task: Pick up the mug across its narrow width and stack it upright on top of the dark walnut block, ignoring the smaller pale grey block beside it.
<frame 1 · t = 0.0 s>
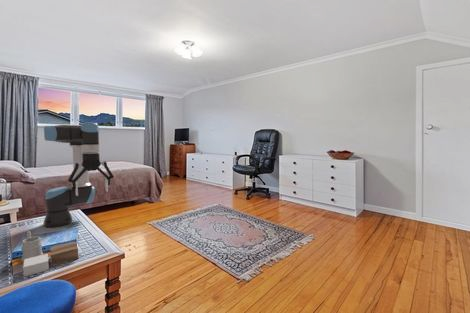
hand: (92, 193, 122), 28 cm above the table, fingers open, 13 cm apart
walnut block: (64, 257, 111), on the table
grey block: (36, 268, 101), on the table
mug: (31, 258, 110), on the table
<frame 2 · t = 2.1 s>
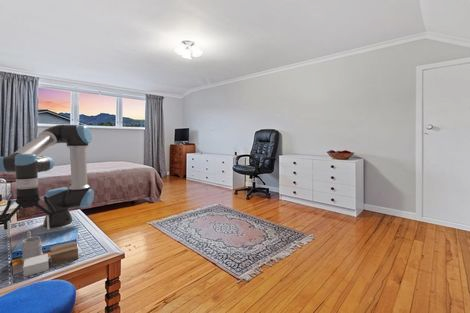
hand: (29, 232, 109), 13 cm above the table, fingers open, 13 cm apart
nothing on the table moved.
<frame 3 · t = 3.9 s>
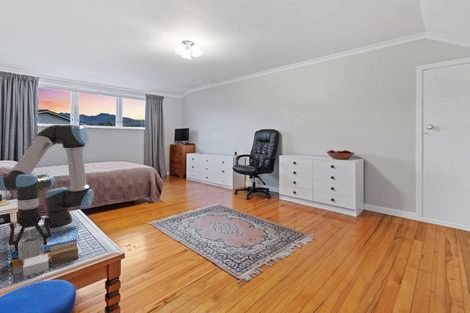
hand: (31, 254, 110), 2 cm above the table, fingers closed on mug, 7 cm apart
mug: (31, 258, 110), on the table, touching gripper
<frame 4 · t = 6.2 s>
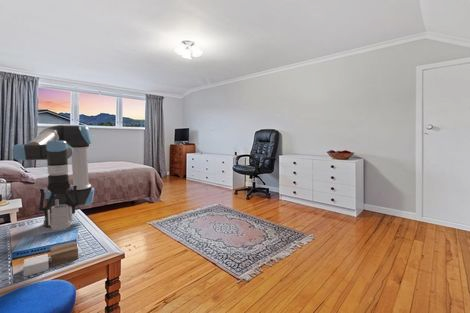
hand: (60, 222, 109), 17 cm above the table, fingers closed on mug, 7 cm apart
mug: (59, 226, 109), point 16 cm above the table, touching gripper
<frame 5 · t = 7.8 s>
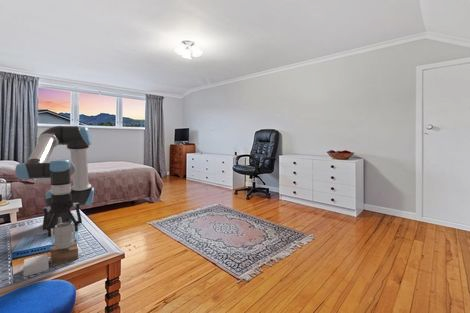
hand: (63, 240, 110), 9 cm above the table, fingers closed on mug, 7 cm apart
mug: (62, 244, 110), point 7 cm above the table, touching gripper
when the fingers open (8 cm above the table, at t = 8.8 s): mug stays where it is, resting on walnut block.
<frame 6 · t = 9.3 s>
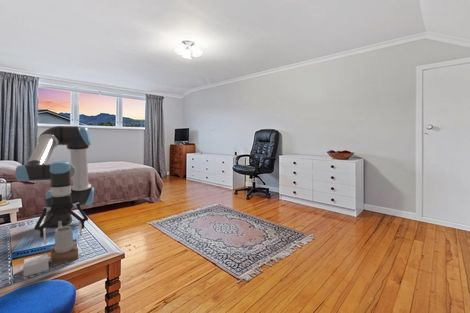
hand: (63, 239, 110), 9 cm above the table, fingers open, 13 cm apart
mug: (63, 248, 110), point 5 cm above the table, touching walnut block
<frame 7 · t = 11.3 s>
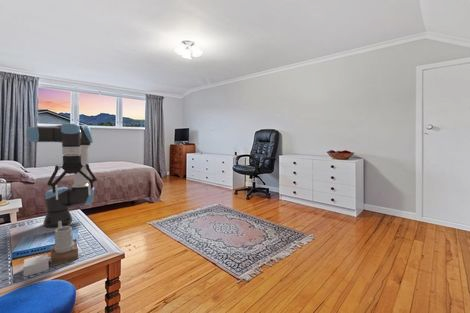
hand: (73, 196, 118), 27 cm above the table, fingers open, 13 cm apart
nothing on the table moved.
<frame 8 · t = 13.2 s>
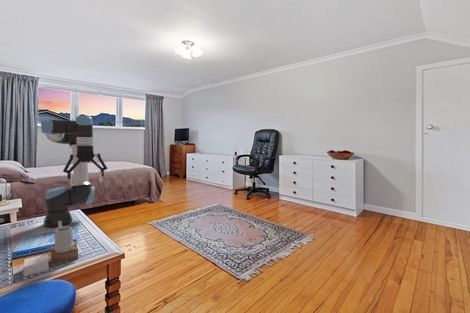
hand: (86, 183, 128), 32 cm above the table, fingers open, 13 cm apart
nothing on the table moved.
at the end: mug inside the target area on the walnut block (0.3 cm from its centre), point 4.8 cm above the walnut block's base; mug tilted 0°; the gripper is holding nothing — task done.
